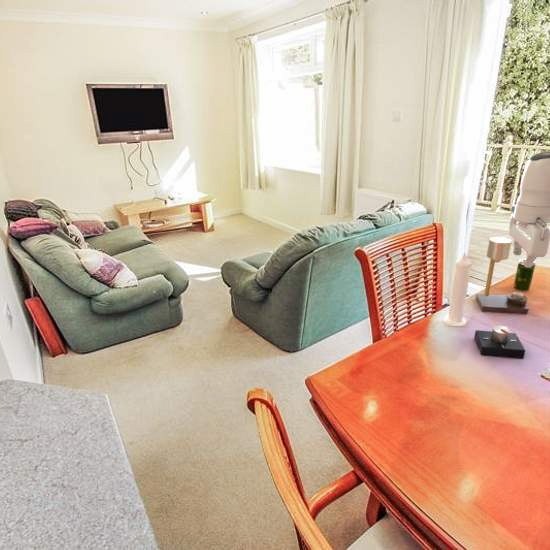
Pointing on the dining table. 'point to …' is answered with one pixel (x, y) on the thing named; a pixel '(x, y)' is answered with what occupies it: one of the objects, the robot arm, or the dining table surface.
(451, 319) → the candle
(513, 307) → the lamp base
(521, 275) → the beer can
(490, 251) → the desk lamp
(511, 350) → the dimmer panel
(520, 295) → the lamp switch
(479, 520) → the dining table surface
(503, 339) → the dimmer knob
